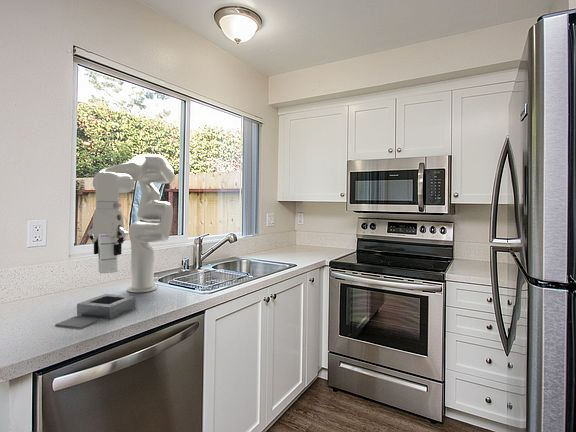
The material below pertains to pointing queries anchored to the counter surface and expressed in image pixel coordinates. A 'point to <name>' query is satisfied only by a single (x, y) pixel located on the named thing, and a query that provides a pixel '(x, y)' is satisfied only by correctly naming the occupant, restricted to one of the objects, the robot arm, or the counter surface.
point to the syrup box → (106, 254)
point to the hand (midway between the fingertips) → (107, 254)
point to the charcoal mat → (77, 322)
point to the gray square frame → (106, 306)
